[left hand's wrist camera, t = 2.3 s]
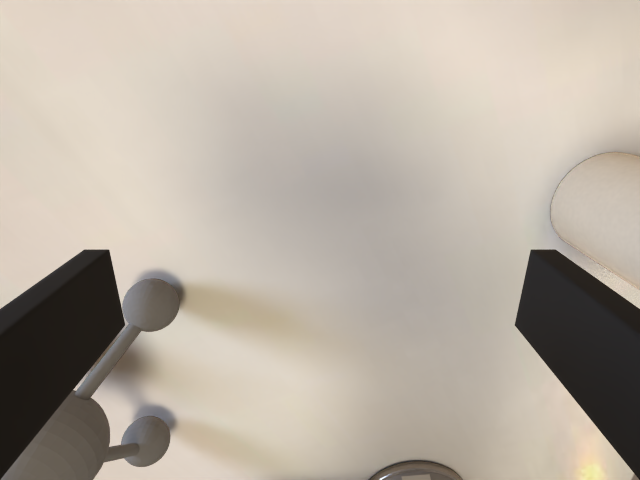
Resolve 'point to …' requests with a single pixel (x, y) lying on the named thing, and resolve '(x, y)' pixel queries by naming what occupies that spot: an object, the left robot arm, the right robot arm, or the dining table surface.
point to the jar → (602, 212)
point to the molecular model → (89, 418)
